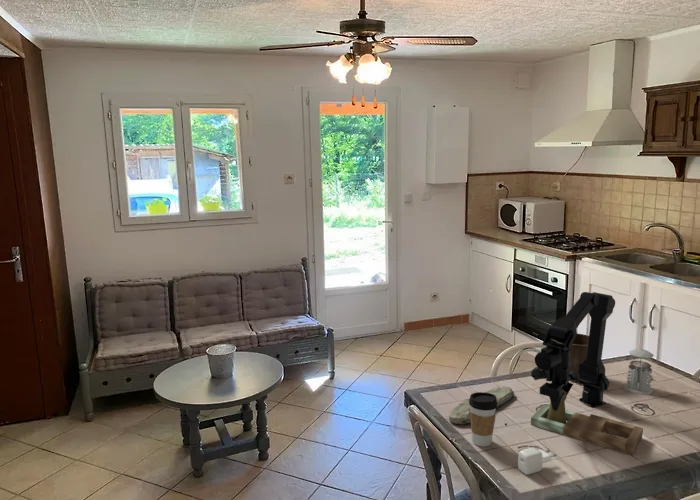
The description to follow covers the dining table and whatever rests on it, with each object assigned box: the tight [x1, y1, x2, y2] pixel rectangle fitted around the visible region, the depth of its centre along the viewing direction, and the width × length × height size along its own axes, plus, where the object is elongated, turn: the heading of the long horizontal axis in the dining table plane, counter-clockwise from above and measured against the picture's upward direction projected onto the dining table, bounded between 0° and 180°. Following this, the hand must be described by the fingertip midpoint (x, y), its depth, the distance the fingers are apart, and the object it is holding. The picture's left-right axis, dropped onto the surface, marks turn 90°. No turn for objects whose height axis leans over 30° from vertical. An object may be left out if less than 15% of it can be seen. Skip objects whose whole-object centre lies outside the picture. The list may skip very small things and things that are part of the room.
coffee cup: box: [468, 391, 498, 447], centre depth 167 cm, size 8×8×15 cm
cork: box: [546, 390, 568, 424], centre depth 179 cm, size 6×6×11 cm
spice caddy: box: [530, 403, 644, 456], centre depth 174 cm, size 30×12×4 cm, turn 51°
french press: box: [623, 324, 654, 395], centre depth 202 cm, size 10×12×25 cm
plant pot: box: [555, 332, 589, 382], centre depth 215 cm, size 15×15×16 cm
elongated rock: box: [448, 386, 515, 426], centre depth 191 cm, size 35×5×10 cm
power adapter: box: [517, 446, 557, 476], centre depth 154 cm, size 11×5×6 cm, turn 114°
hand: (557, 407), depth 179 cm, fingers open, 5 cm apart
